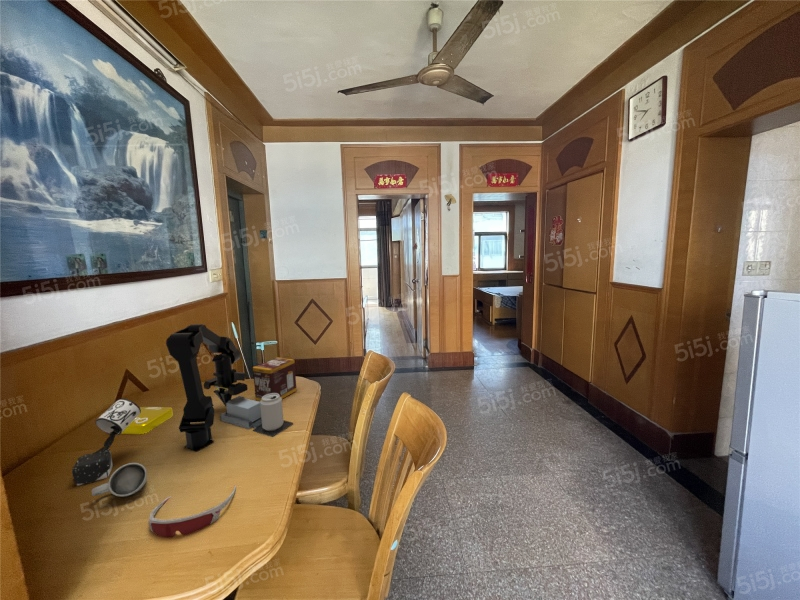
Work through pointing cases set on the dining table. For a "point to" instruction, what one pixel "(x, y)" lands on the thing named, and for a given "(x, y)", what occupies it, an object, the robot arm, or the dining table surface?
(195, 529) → the sunglasses
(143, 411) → the element tile
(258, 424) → the base
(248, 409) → the grey stepped machine block
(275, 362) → the supplement box
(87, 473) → the table lamp
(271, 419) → the can
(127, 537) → the dining table surface
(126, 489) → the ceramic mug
